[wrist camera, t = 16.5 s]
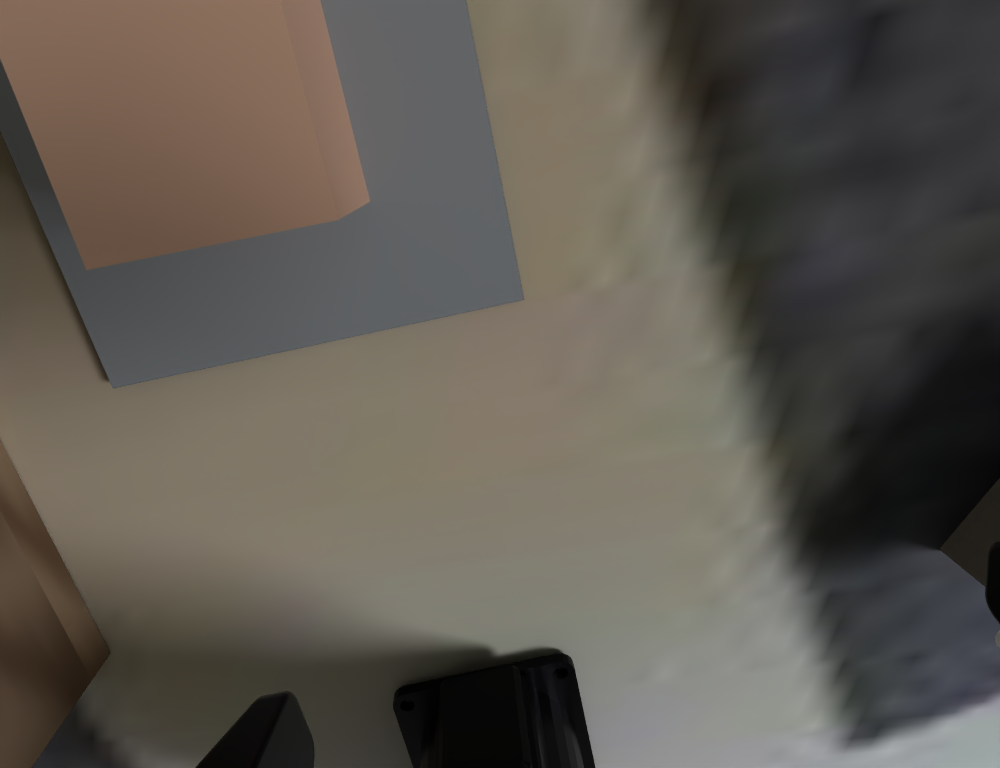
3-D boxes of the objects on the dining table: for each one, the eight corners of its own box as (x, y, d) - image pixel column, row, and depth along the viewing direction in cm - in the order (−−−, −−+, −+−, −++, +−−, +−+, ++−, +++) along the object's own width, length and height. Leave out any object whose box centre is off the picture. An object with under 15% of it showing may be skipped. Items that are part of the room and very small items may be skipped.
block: (370, 201, 17) (338, 220, 13) (186, 238, 17) (86, 270, 13) (317, -11, 16) (258, -80, 11) (113, 30, 16) (-32, -21, 11)
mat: (522, 296, 19) (524, 299, 19) (119, 384, 19) (112, 388, 19) (423, -213, 15) (422, -223, 14) (-89, -99, 15) (-103, -105, 15)
